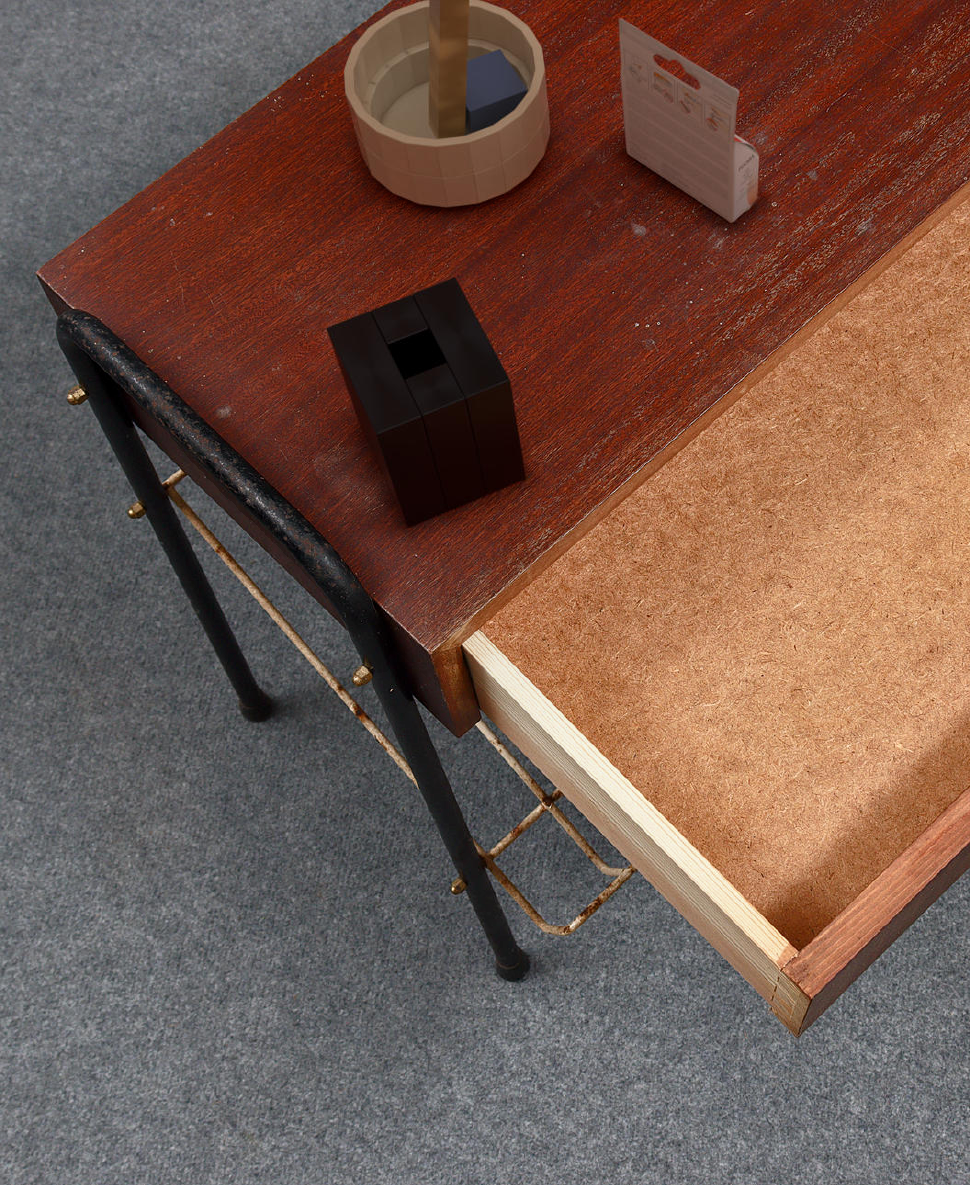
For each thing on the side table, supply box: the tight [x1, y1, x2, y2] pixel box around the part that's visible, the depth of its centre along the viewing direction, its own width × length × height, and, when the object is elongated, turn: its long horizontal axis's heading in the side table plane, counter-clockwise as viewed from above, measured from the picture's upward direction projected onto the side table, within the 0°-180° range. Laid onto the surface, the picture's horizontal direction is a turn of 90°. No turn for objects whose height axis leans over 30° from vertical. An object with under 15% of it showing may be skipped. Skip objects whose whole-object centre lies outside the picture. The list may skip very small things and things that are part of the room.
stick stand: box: [325, 276, 527, 529], centre depth 77 cm, size 7×7×10 cm
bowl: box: [343, 0, 551, 208], centre depth 89 cm, size 12×12×6 cm
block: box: [465, 49, 527, 136], centre depth 89 cm, size 4×4×4 cm
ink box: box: [618, 17, 760, 224], centre depth 84 cm, size 3×9×12 cm, turn 48°
